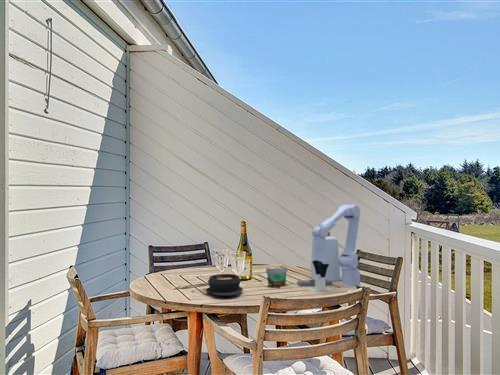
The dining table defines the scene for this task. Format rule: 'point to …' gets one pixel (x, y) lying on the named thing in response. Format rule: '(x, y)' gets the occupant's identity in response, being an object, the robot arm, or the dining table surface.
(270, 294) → the dining table surface
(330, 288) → the rubber mat
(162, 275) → the dining table surface
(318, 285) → the white rectangular block
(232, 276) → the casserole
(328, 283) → the grey slotted plate
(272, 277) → the food container
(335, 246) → the plastic bottle
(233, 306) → the dining table surface
